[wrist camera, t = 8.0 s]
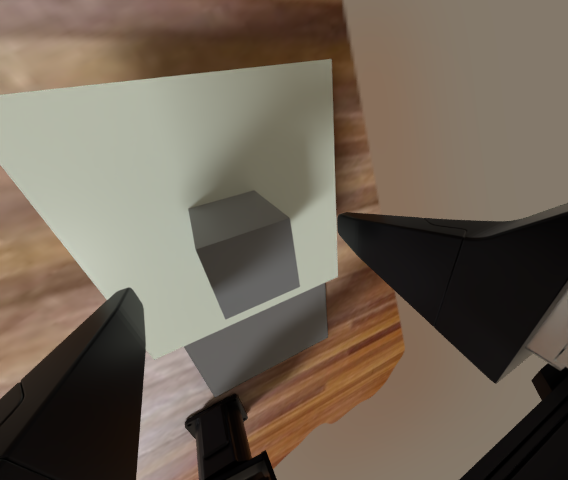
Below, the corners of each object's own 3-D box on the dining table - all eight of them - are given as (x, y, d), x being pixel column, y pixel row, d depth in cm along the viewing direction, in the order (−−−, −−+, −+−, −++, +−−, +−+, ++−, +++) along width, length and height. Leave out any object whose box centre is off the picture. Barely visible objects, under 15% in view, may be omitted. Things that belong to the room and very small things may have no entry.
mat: (326, 335, 31) (327, 337, 31) (214, 394, 26) (215, 397, 26) (320, 239, 23) (322, 240, 23) (157, 300, 18) (157, 303, 18)
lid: (332, 271, 19) (380, 315, 14) (155, 349, 15) (147, 443, 10) (322, 62, 11) (413, 23, 7) (-31, 102, 7) (-317, 67, 3)
